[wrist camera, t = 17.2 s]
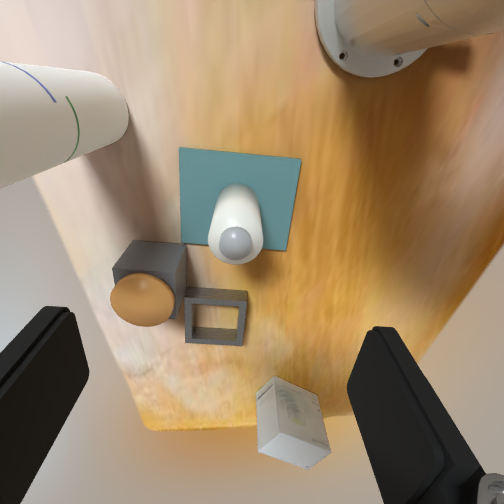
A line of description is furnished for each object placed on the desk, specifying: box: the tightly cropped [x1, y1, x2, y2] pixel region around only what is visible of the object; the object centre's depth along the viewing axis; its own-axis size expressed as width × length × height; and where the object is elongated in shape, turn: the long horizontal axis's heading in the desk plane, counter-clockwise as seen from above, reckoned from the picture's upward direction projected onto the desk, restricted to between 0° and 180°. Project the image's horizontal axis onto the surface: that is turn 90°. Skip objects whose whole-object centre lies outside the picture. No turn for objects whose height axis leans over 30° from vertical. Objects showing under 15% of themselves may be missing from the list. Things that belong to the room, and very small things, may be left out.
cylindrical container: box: [0, 62, 129, 188], centre depth 21 cm, size 7×7×25 cm
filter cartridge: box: [208, 183, 263, 265], centre depth 31 cm, size 5×5×11 cm
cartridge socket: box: [184, 287, 247, 346], centre depth 44 cm, size 9×9×2 cm
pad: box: [179, 147, 301, 251], centre depth 36 cm, size 14×12×1 cm
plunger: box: [110, 273, 175, 327], centre depth 36 cm, size 7×7×5 cm
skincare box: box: [256, 376, 331, 470], centre depth 51 cm, size 10×6×10 cm, turn 56°
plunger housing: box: [112, 240, 187, 319], centre depth 38 cm, size 7×7×7 cm
